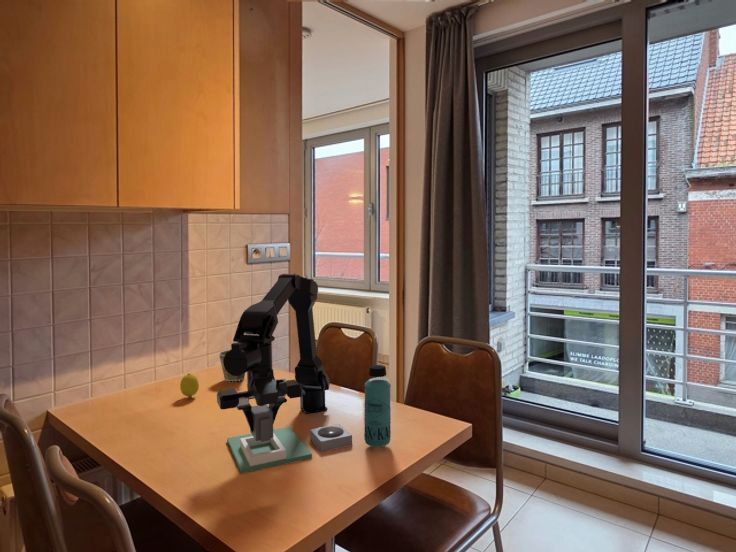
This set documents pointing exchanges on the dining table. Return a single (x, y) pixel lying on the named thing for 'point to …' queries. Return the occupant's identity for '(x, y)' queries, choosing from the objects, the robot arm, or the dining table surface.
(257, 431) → the plug
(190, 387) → the lemon
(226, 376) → the ceramic cup
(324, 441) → the grey square block
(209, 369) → the dining table surface
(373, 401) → the beverage bottle
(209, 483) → the dining table surface
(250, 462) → the board
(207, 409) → the dining table surface
